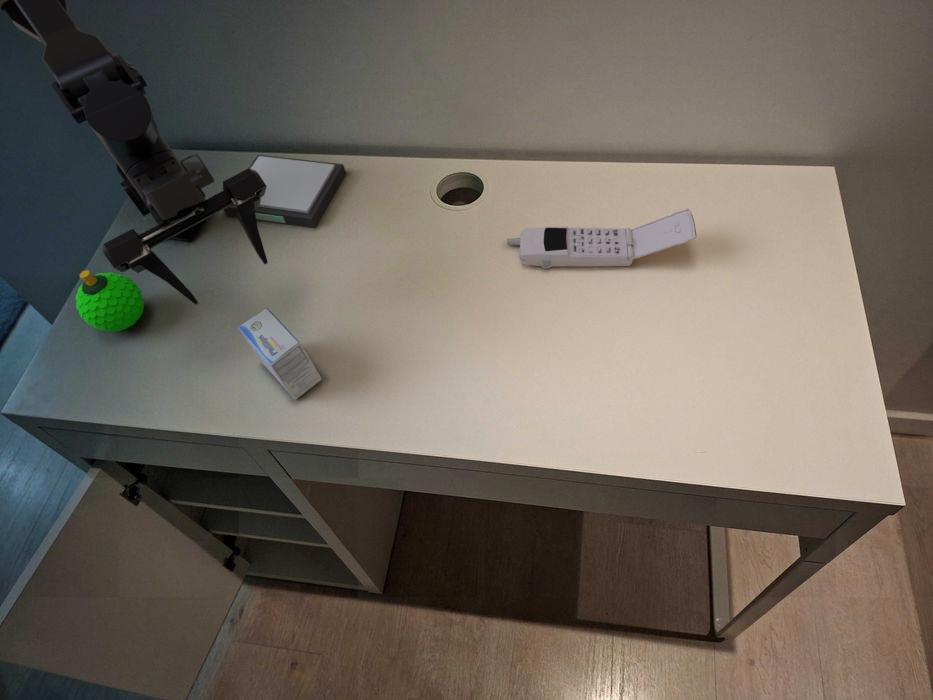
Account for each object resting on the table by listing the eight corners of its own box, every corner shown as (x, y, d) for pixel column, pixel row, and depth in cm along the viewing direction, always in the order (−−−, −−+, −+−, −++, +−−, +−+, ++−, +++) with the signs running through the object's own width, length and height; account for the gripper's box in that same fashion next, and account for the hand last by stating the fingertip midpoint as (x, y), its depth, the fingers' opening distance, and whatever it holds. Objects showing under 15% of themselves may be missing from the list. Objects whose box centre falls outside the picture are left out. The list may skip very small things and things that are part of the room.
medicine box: (323, 380, 77) (302, 342, 70) (294, 402, 75) (269, 365, 68) (290, 345, 80) (267, 305, 73) (262, 365, 79) (236, 326, 72)
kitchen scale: (225, 216, 96) (219, 204, 94) (262, 163, 103) (256, 151, 101) (314, 229, 93) (309, 216, 91) (346, 173, 100) (342, 161, 98)
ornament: (88, 325, 86) (41, 279, 78) (136, 289, 89) (95, 242, 81) (118, 352, 82) (72, 308, 74) (166, 314, 86) (127, 268, 77)
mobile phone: (698, 239, 77) (504, 239, 79) (688, 270, 82) (506, 270, 84) (692, 207, 80) (506, 209, 83) (682, 239, 85) (507, 239, 88)
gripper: (48, 188, 57) (150, 325, 61) (224, 104, 62) (308, 234, 66) (76, 209, 67) (162, 325, 71) (224, 135, 73) (297, 247, 76)
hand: (232, 283), depth 71 cm, fingers open, 9 cm apart
